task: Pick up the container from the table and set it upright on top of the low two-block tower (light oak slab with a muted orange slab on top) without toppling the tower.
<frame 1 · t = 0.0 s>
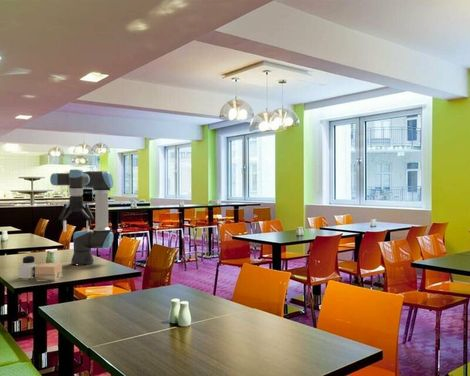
hand: (76, 231, 260), 28 cm above the table, tool pointing down, fingers open, 13 cm apart
container: (28, 278, 263), on the table
tower bottom: (49, 279, 260), on the table
tower top: (48, 272, 260), point 4 cm above the table
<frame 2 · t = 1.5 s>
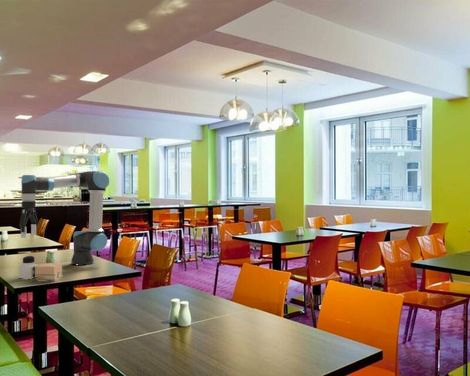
hand: (28, 236, 263), 25 cm above the table, tool pointing down, fingers open, 13 cm apart
tower bottom: (49, 279, 260), on the table, touching tower top
tower top: (48, 272, 260), point 4 cm above the table, touching tower bottom
everything else where it was.
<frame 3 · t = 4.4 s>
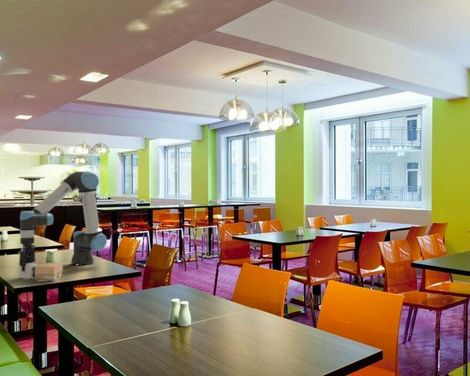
hand: (27, 275, 263), 2 cm above the table, tool pointing down, fingers closed on container, 8 cm apart
container: (28, 278, 263), on the table, touching gripper
everything else where it was.
when the fingers open (12 cm above the table, at t = 9.5 s): container drops 2 cm, resting on tower top.
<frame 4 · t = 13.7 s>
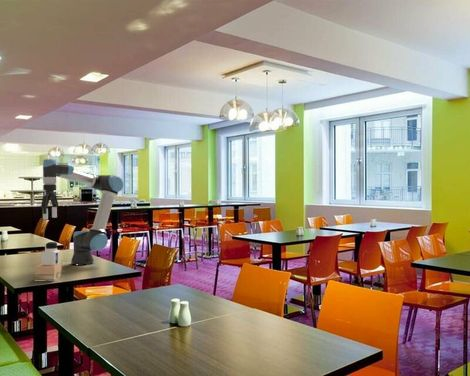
hand: (50, 218, 274), 35 cm above the table, tool pointing down, fingers open, 13 cm apart
container: (50, 264, 260), point 9 cm above the table, touching tower top
tower top: (48, 272, 259), point 4 cm above the table, touching container, tower bottom
everything else where it was.
at the end: container 1.2 cm off-centre on the tower top, point 4.5 cm above the tower top's base; tower top 0.3 cm from the tower bottom (horizontally); container tilted 2° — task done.
